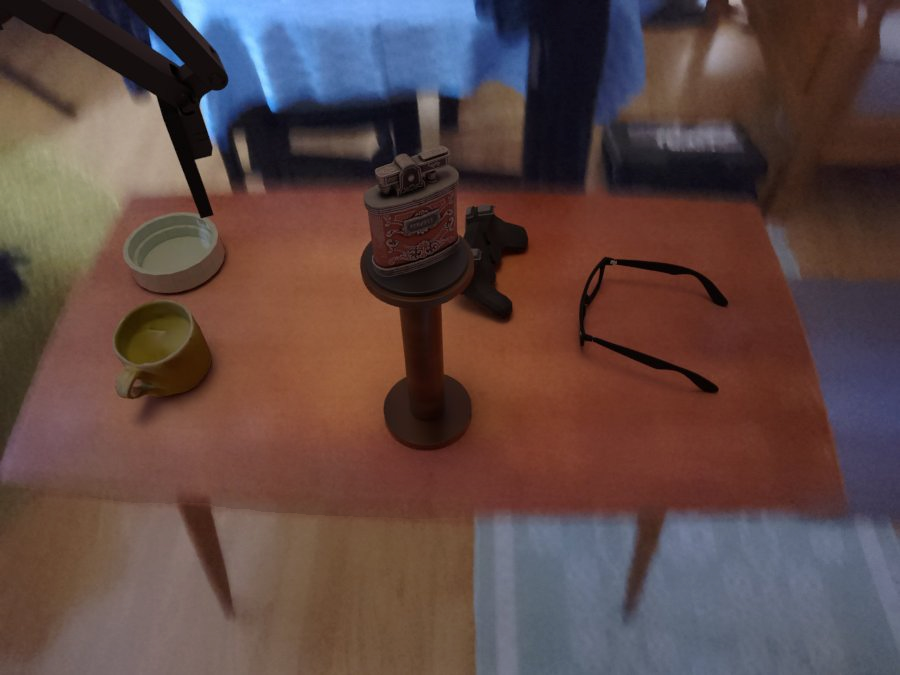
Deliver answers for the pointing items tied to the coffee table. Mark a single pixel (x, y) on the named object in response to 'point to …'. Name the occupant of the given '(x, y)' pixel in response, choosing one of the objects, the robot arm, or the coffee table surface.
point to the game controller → (490, 256)
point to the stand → (424, 350)
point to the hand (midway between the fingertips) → (83, 236)
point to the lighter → (413, 212)
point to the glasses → (633, 354)
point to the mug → (160, 350)
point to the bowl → (174, 252)
